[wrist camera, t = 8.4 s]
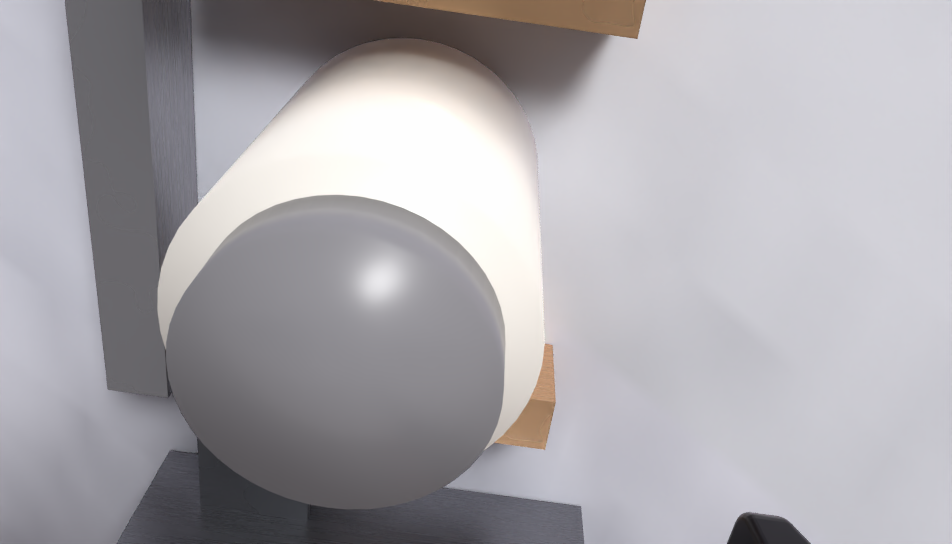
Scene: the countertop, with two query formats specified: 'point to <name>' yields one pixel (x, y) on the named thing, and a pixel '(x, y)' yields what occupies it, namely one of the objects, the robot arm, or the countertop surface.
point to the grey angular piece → (144, 249)
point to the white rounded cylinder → (364, 282)
